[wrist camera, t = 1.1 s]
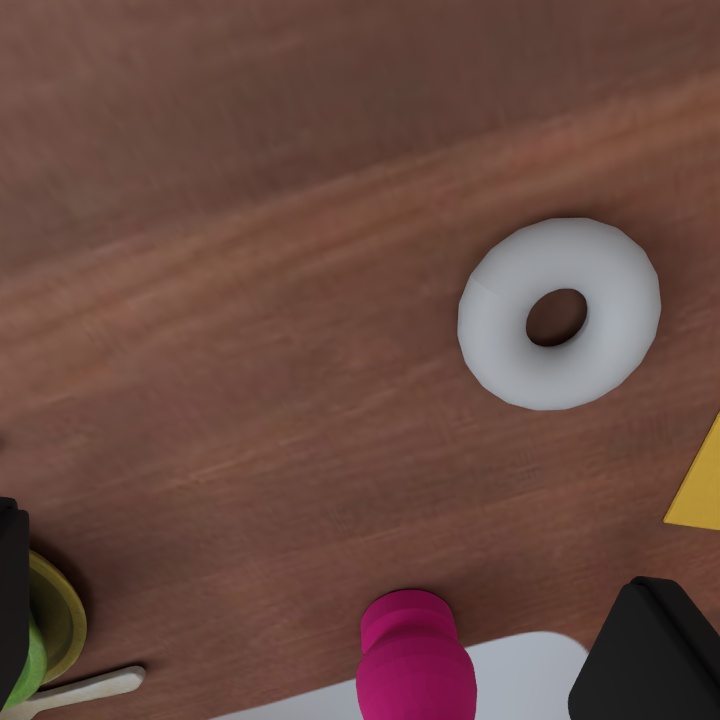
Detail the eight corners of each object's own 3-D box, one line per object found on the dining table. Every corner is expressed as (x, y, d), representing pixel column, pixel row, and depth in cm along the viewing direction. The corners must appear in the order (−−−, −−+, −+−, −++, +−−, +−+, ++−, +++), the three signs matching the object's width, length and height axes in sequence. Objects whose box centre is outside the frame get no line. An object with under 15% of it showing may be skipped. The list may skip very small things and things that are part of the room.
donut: (604, 399, 33) (669, 224, 28) (633, 432, 29) (710, 241, 25) (433, 380, 32) (474, 197, 27) (445, 412, 28) (493, 210, 24)
